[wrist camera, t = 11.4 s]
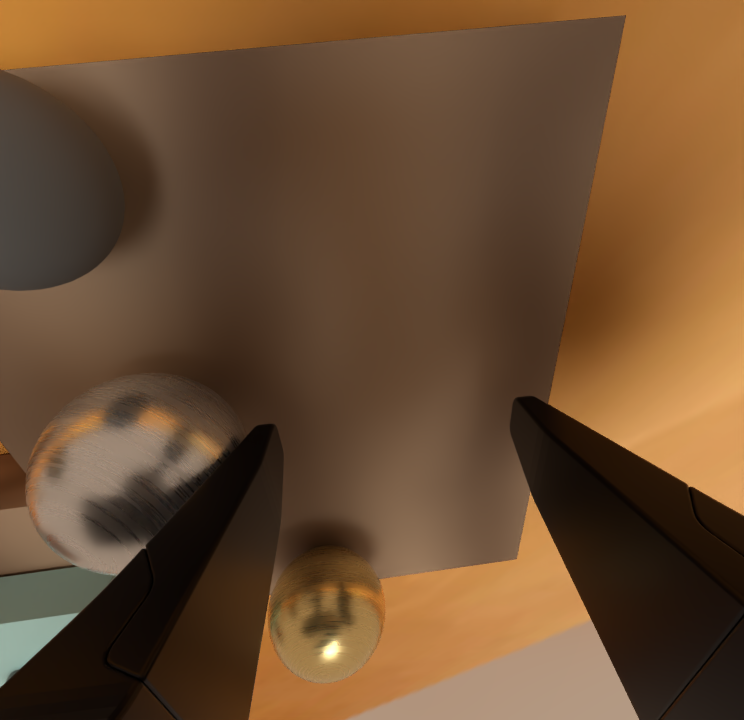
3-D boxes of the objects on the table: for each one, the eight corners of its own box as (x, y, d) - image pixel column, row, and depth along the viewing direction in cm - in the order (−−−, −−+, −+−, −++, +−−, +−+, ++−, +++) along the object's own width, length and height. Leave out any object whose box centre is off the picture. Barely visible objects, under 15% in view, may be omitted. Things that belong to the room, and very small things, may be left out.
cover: (119, 560, 13) (79, 649, 11) (190, 656, 17) (170, 736, 15) (-108, 592, 13) (-195, 689, 10) (16, 682, 16) (-29, 767, 14)
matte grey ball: (110, 60, 6) (-29, 29, 4) (175, 246, 8) (106, 311, 5) (-85, 77, 6) (-362, 58, 4) (21, 263, 8) (-123, 337, 5)
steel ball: (256, 342, 8) (100, 497, 5) (296, 474, 11) (204, 641, 7) (110, 334, 10) (-91, 457, 6) (172, 454, 12) (46, 592, 8)
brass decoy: (374, 515, 13) (389, 638, 10) (381, 575, 15) (396, 694, 12) (264, 530, 13) (245, 659, 10) (285, 589, 15) (275, 712, 12)
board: (556, 36, 9) (625, 15, 7) (494, 506, 17) (516, 559, 15) (-537, 134, 8) (-837, 143, 6) (-31, 579, 16) (-80, 645, 14)
